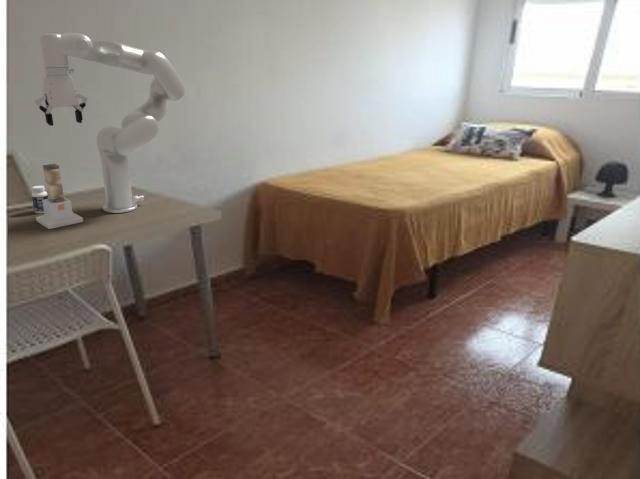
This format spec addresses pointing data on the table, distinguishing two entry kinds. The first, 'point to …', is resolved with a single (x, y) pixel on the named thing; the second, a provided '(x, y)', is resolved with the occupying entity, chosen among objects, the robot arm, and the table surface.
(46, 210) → the white stand
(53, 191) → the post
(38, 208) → the pill bottle
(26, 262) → the table surface
